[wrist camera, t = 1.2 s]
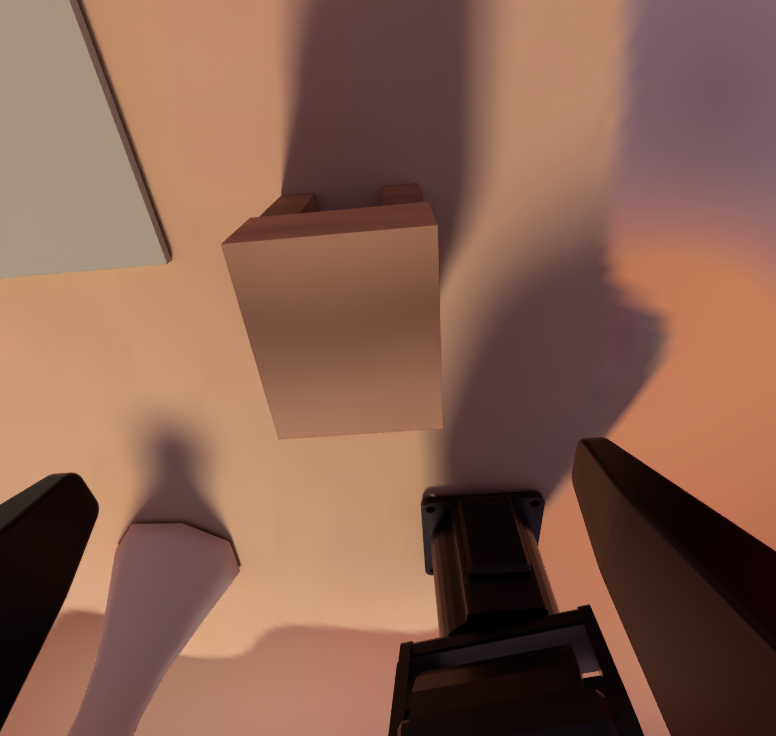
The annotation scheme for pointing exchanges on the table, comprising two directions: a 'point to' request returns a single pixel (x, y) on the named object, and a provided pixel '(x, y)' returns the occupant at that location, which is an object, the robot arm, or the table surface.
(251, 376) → the table surface
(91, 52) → the sage mat
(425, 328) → the walnut stool
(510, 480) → the table surface
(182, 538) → the flask
